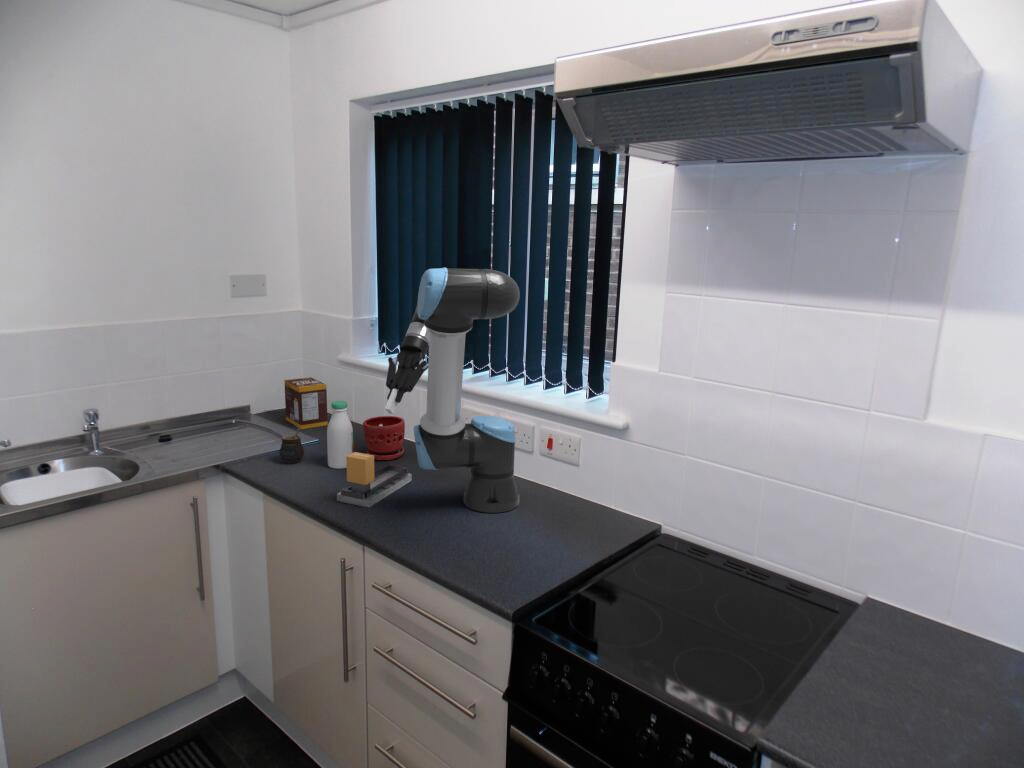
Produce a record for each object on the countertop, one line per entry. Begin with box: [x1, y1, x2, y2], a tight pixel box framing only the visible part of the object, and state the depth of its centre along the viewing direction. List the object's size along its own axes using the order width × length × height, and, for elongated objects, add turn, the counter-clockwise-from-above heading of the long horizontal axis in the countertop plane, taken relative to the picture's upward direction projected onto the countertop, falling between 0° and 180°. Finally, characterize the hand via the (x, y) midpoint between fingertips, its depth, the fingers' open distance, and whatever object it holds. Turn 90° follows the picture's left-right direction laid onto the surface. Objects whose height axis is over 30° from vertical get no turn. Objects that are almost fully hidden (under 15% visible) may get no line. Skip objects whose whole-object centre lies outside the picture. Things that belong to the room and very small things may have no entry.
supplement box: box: [284, 376, 329, 430], centre depth 248 cm, size 10×15×16 cm
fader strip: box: [336, 463, 413, 509], centre depth 186 cm, size 23×10×4 cm, turn 158°
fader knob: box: [346, 451, 375, 493], centre depth 179 cm, size 4×6×10 cm, turn 68°
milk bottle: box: [326, 400, 355, 470], centre depth 203 cm, size 8×8×20 cm
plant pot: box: [362, 415, 406, 461], centre depth 214 cm, size 13×13×12 cm
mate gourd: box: [278, 427, 305, 465], centre depth 206 cm, size 7×8×10 cm
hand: (389, 411), depth 187 cm, fingers closed
